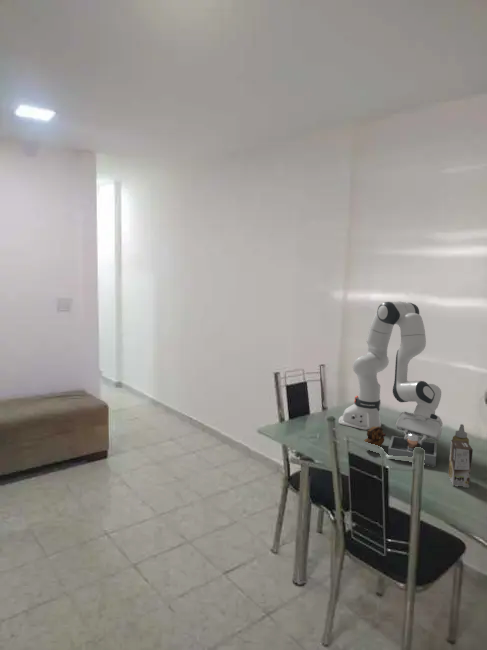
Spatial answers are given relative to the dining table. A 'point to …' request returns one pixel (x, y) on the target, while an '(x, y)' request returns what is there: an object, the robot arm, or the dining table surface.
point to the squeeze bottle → (461, 435)
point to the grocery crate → (400, 449)
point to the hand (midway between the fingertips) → (412, 442)
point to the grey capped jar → (412, 441)
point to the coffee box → (460, 463)
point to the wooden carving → (375, 436)
